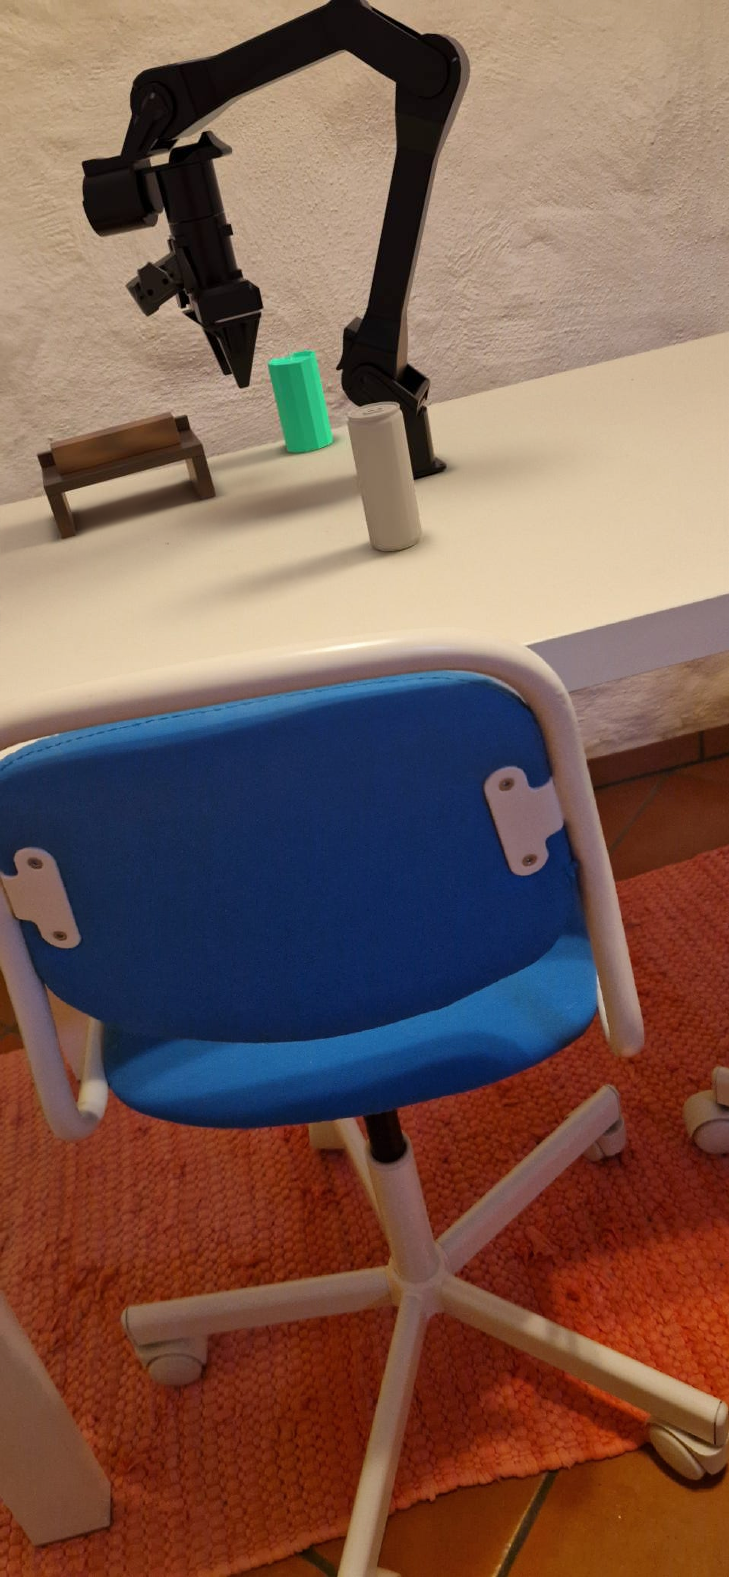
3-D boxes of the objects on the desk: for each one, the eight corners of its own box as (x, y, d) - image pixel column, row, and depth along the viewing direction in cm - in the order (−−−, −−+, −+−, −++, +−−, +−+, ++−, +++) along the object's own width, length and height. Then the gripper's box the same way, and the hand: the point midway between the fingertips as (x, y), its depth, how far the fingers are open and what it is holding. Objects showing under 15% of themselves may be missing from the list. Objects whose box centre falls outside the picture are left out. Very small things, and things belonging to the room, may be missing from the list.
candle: (335, 434, 134) (315, 334, 128) (330, 447, 129) (309, 344, 123) (290, 442, 135) (267, 343, 129) (282, 455, 131) (259, 354, 124)
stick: (177, 438, 123) (170, 411, 121) (180, 443, 120) (173, 416, 119) (58, 469, 121) (49, 443, 119) (59, 475, 118) (50, 448, 117)
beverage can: (368, 540, 99) (343, 409, 93) (419, 529, 99) (397, 397, 93) (373, 557, 95) (347, 422, 89) (426, 546, 95) (404, 409, 89)
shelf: (216, 496, 121) (198, 430, 117) (61, 538, 119) (38, 472, 115) (203, 476, 130) (186, 414, 126) (58, 515, 127) (36, 453, 123)
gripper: (109, 234, 112) (153, 386, 120) (125, 241, 96) (174, 416, 104) (211, 210, 113) (247, 362, 121) (243, 213, 97) (282, 387, 106)
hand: (236, 381), depth 113 cm, fingers open, 9 cm apart
